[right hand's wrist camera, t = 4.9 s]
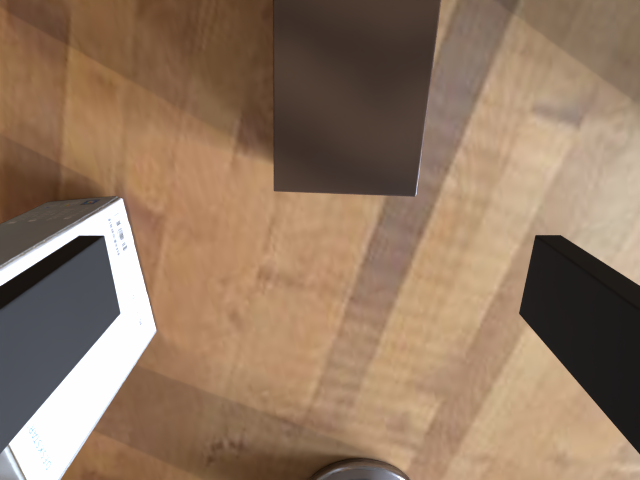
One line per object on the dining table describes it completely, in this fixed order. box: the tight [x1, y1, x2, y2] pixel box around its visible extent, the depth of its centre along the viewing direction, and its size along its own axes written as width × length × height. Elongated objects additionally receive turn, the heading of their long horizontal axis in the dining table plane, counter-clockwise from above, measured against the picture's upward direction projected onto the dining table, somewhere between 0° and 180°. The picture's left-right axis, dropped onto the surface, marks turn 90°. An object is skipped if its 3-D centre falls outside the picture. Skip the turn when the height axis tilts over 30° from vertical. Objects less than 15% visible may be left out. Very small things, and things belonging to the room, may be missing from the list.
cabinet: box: [273, 0, 441, 197], centre depth 30 cm, size 20×10×9 cm, turn 178°
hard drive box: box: [0, 196, 156, 480], centre depth 32 cm, size 16×8×20 cm, turn 4°
